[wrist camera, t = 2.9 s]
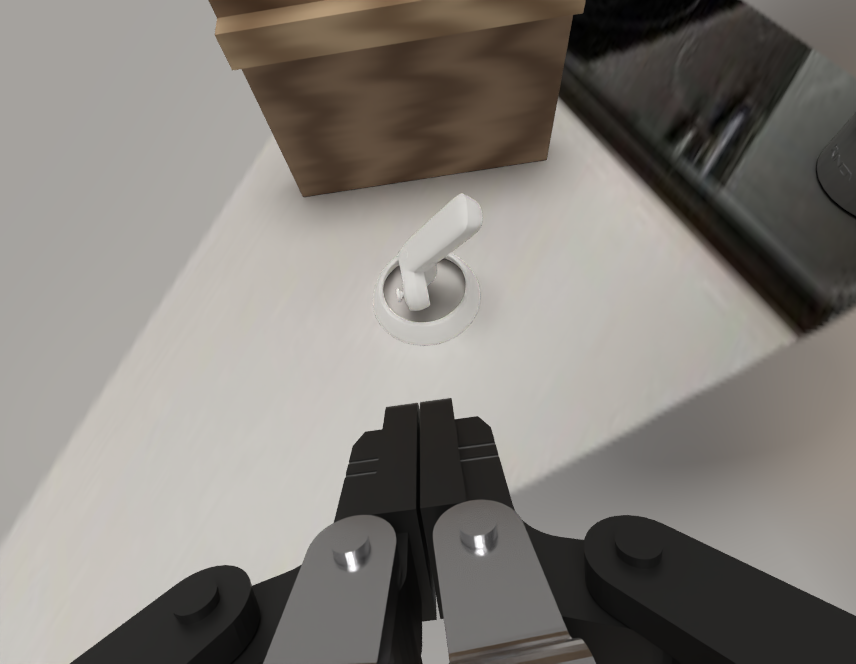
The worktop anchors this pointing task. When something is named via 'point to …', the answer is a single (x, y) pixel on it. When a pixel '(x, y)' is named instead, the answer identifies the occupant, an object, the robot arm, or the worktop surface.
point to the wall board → (400, 83)
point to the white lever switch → (432, 275)
